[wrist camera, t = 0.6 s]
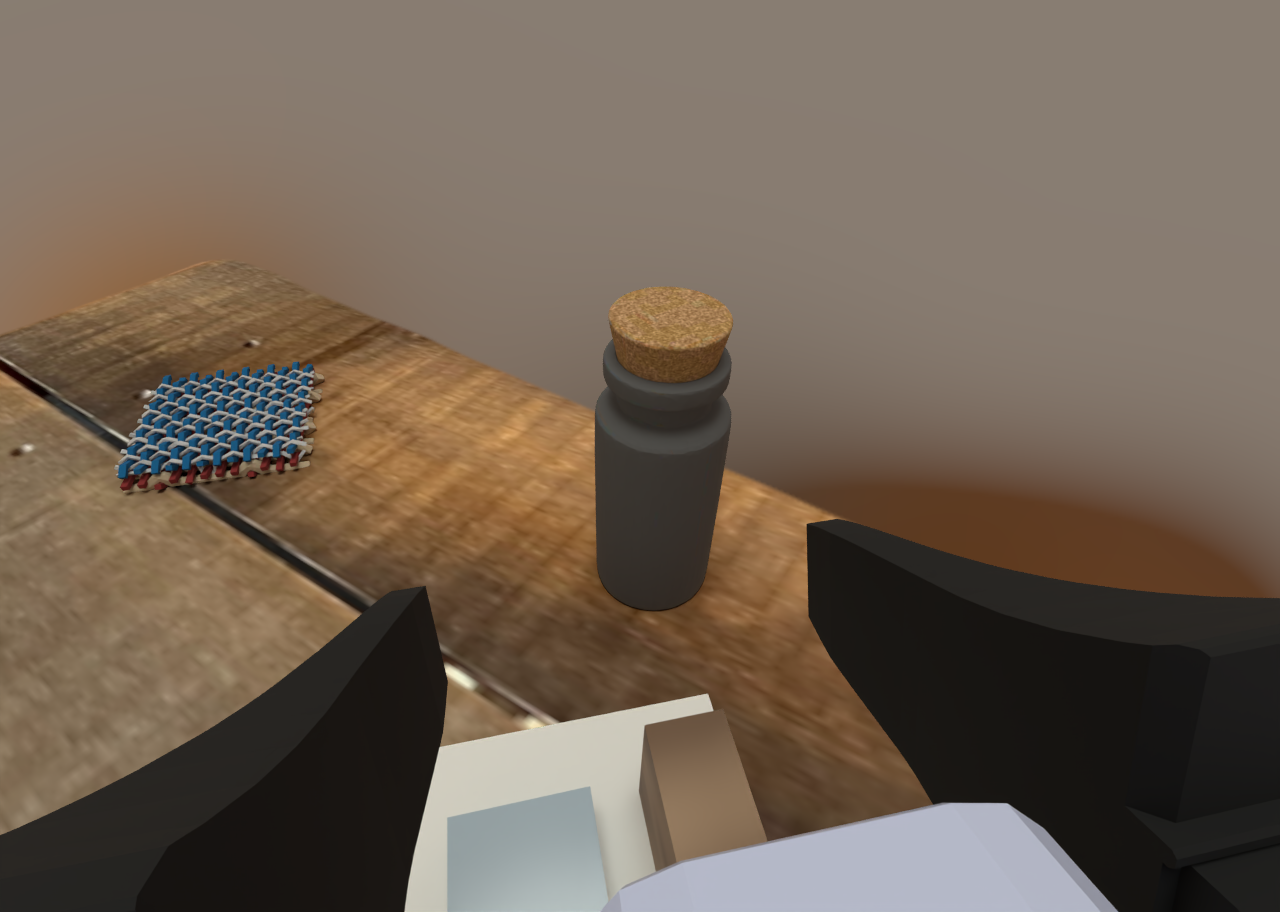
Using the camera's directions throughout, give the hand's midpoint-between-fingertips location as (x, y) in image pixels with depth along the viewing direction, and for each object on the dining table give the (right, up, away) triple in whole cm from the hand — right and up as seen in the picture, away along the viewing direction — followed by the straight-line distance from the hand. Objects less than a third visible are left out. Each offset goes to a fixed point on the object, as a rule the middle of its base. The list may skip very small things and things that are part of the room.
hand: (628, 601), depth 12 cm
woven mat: (-26, +4, +29) cm, 40 cm away
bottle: (+1, -3, +22) cm, 22 cm away
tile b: (-3, -11, +8) cm, 14 cm away
